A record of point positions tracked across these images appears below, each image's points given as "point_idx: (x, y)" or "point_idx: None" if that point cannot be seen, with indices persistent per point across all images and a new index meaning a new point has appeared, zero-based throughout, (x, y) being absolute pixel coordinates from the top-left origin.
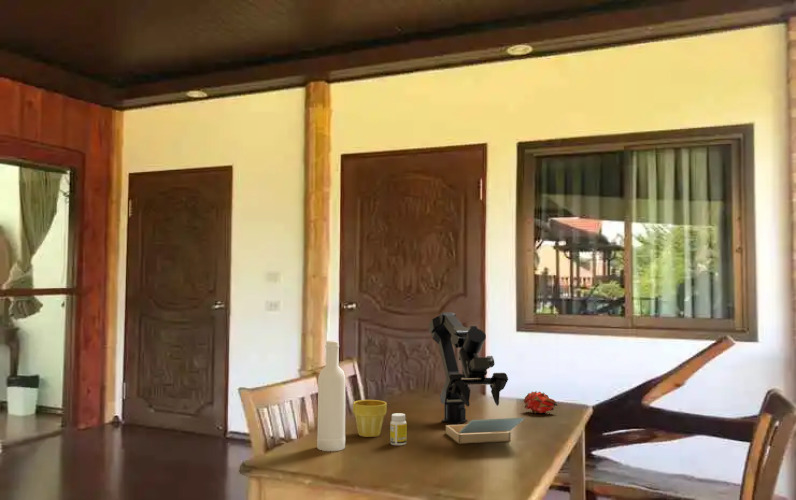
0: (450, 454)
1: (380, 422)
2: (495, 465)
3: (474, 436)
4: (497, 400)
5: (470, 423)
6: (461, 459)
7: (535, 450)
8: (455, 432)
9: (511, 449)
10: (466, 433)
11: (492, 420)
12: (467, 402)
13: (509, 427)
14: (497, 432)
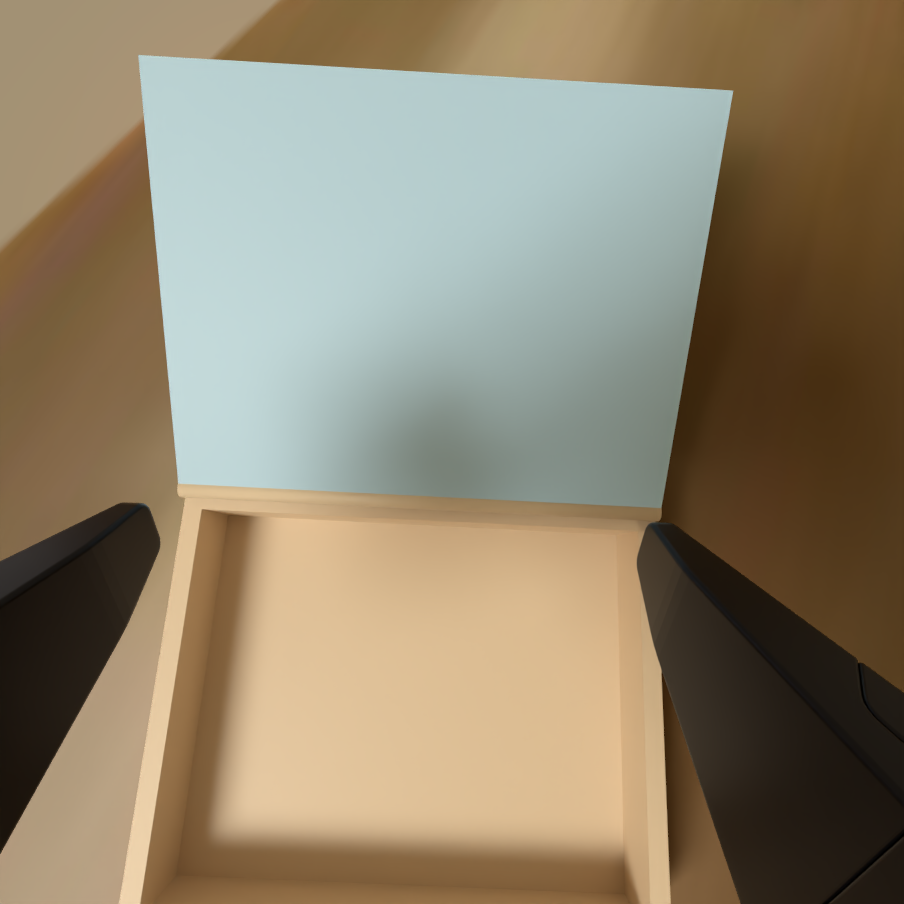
0: (756, 283)
1: None
2: (571, 43)
3: None
4: (98, 527)
5: (704, 179)
6: (718, 176)
7: None
8: None
9: None
10: (466, 823)
11: (504, 83)
12: (696, 541)
13: (224, 373)
14: (190, 755)
